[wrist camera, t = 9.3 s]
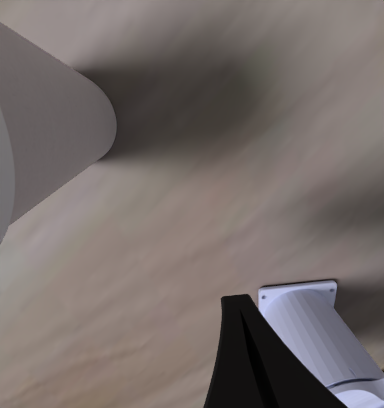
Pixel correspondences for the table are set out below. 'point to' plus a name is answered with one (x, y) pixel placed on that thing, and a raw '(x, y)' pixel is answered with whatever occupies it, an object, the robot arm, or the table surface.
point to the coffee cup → (45, 125)
